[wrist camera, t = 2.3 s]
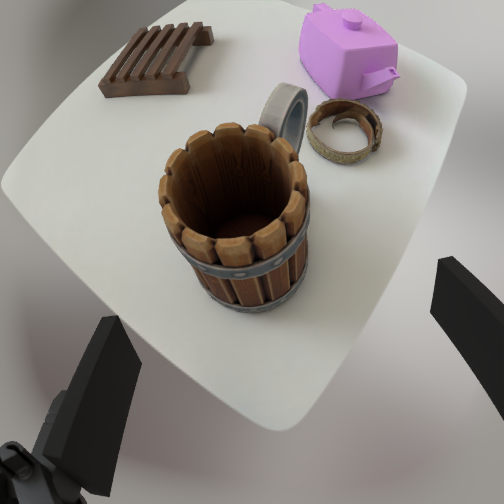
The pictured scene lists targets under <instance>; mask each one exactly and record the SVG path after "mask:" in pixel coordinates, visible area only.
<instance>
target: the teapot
mask: <svg viewBox="0 0 504 504" xmlns="http://www.w3.org/2000/svg"><path fill="white" fill-rule="evenodd" d="M397 54H398V44H397V43H396V41H395V40H394V39H393V38H392V37H391V36H390V35H389V34H388V33H387V32H386V31H385V30H384V29H383V28H382V27H381V26H379V25H378V24H377V23H376V22H375V21H373V20H372V19H371V18H369V17H368V16H366V15H365V14H364V13H362V12H361V11H359V10H356V9H338V10H333V9H332V8H331V7H329V6H328V5H326V4H325V3H322V4H314V5H313V13H307V14H306V15H305V18H304V22H303V26H302V30H301V35H300V41H299V55H300V58H301V61H302V63H303V65H304V67H305V68H306V70H307V71H308V73H309V74H310V76H311V77H312V78H313V80H314V81H315V82H316V83H317V84H318V85H319V86H320V88H321V89H322V90H323V91H324V92H325V93H326V94H327V95H328V96H329V97H330V98H331V99H337V98H343V99H351V100H355V99H360V98H365V97H369V96H374V95H378V94H382V93H385V92H387V91H388V90H389V89H390V87H391V86H392V84H393V81H394V80H395V79H397V78H399V77H400V75H399V74H398V72H397V71H396V67H397Z"/></svg>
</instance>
